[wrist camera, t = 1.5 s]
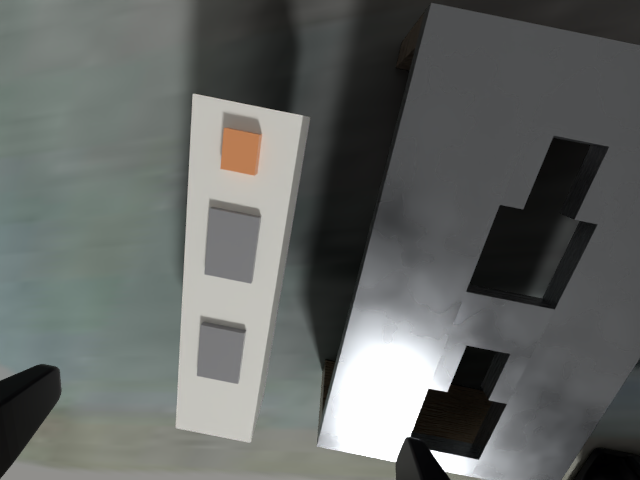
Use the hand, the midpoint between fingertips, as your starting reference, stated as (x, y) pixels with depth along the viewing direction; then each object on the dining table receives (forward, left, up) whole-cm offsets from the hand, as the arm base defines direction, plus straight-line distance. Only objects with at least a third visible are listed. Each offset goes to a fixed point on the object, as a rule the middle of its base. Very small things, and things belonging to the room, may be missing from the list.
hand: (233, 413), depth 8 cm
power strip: (-2, +2, -14) cm, 14 cm away
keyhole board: (+1, -11, -14) cm, 17 cm away
